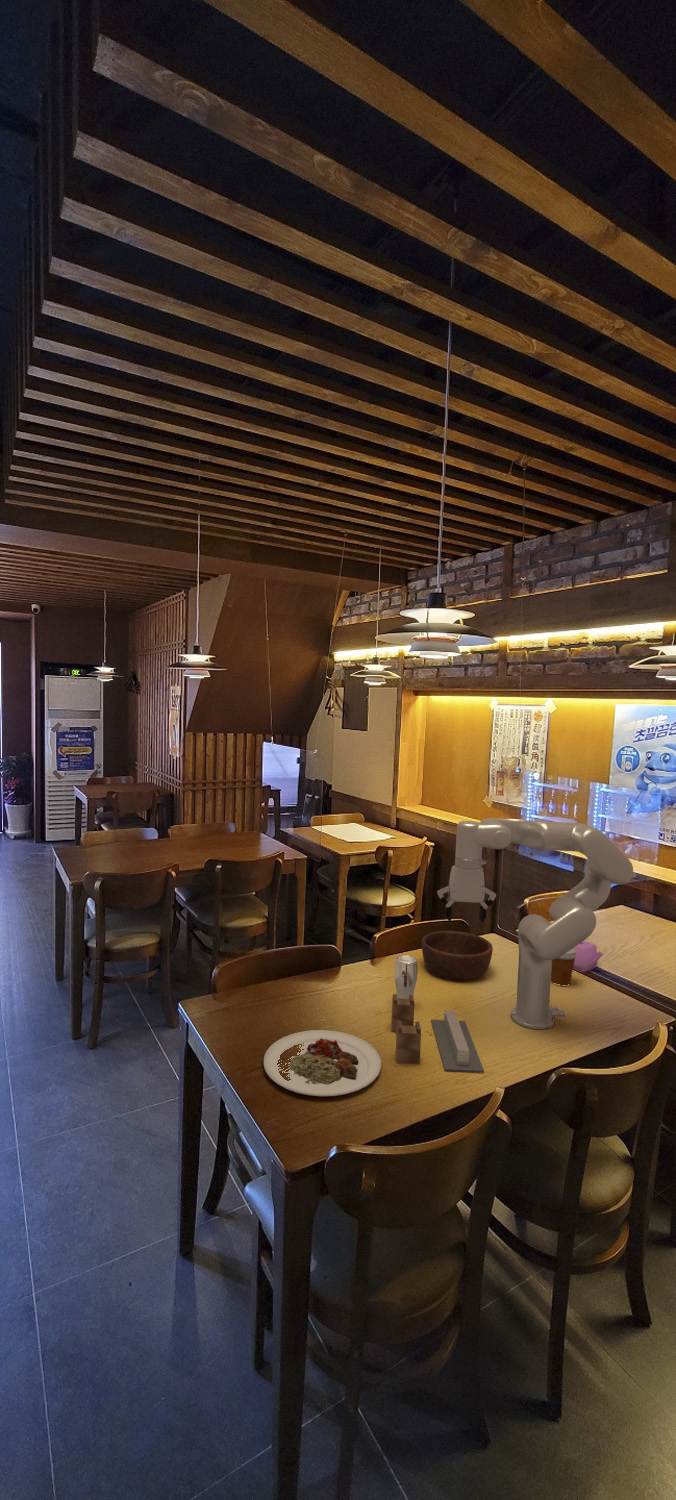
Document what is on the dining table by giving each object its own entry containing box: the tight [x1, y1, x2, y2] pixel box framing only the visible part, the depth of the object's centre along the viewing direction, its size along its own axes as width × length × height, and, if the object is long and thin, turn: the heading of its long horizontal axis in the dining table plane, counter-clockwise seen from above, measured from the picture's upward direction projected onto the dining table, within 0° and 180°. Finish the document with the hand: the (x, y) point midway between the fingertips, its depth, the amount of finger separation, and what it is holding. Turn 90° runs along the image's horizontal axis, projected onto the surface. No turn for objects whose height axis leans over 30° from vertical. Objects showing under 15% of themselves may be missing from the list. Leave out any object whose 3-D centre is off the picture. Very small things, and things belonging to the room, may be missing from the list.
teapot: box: [573, 940, 604, 974], centre depth 233 cm, size 18×10×10 cm, turn 38°
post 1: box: [390, 993, 415, 1033], centre depth 181 cm, size 6×4×9 cm, turn 89°
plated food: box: [263, 1029, 382, 1097], centre depth 161 cm, size 30×30×3 cm
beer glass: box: [394, 955, 418, 999], centre depth 195 cm, size 7×7×15 cm
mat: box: [430, 1019, 485, 1074], centre depth 173 cm, size 10×26×1 cm, turn 179°
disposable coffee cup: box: [551, 948, 577, 985], centre depth 218 cm, size 10×10×12 cm
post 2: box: [395, 1021, 422, 1065], centre depth 165 cm, size 6×4×9 cm, turn 89°
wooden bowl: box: [421, 930, 494, 982], centre depth 225 cm, size 25×25×10 cm
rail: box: [443, 1009, 469, 1066], centre depth 173 cm, size 3×22×4 cm, turn 179°
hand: (465, 920), depth 187 cm, fingers open, 9 cm apart
